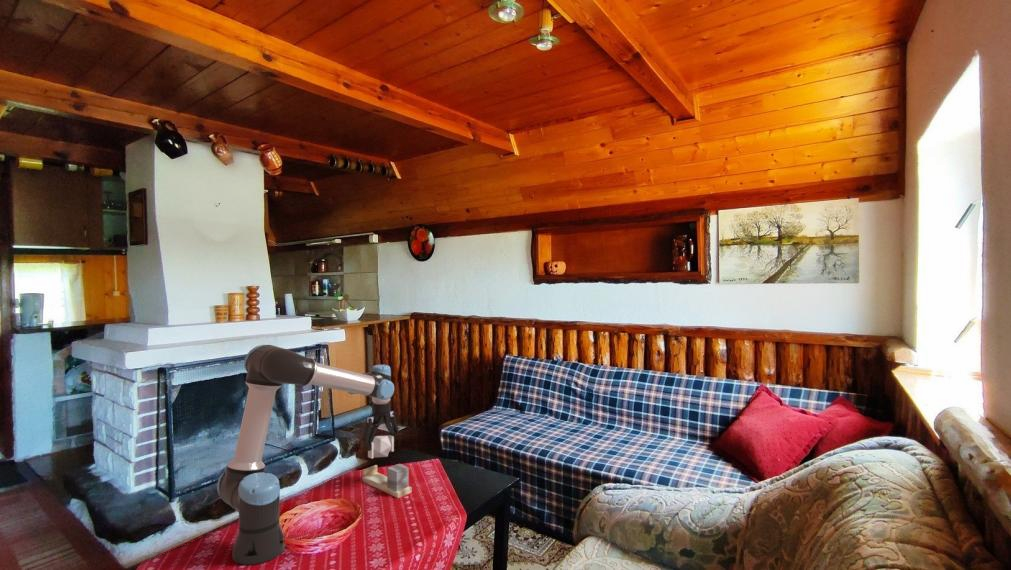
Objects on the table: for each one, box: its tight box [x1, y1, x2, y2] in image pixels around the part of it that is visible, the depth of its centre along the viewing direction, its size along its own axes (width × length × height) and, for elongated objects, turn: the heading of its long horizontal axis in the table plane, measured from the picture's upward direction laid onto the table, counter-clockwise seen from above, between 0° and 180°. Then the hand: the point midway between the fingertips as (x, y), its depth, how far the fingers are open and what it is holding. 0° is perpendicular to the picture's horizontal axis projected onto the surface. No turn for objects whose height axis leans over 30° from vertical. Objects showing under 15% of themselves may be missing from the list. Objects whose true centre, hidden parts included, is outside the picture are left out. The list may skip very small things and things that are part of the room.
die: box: [372, 435, 391, 458], centre depth 209 cm, size 8×9×10 cm
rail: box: [361, 463, 413, 499], centre depth 207 cm, size 7×24×10 cm, turn 51°
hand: (381, 454), depth 209 cm, fingers closed on die, 10 cm apart
